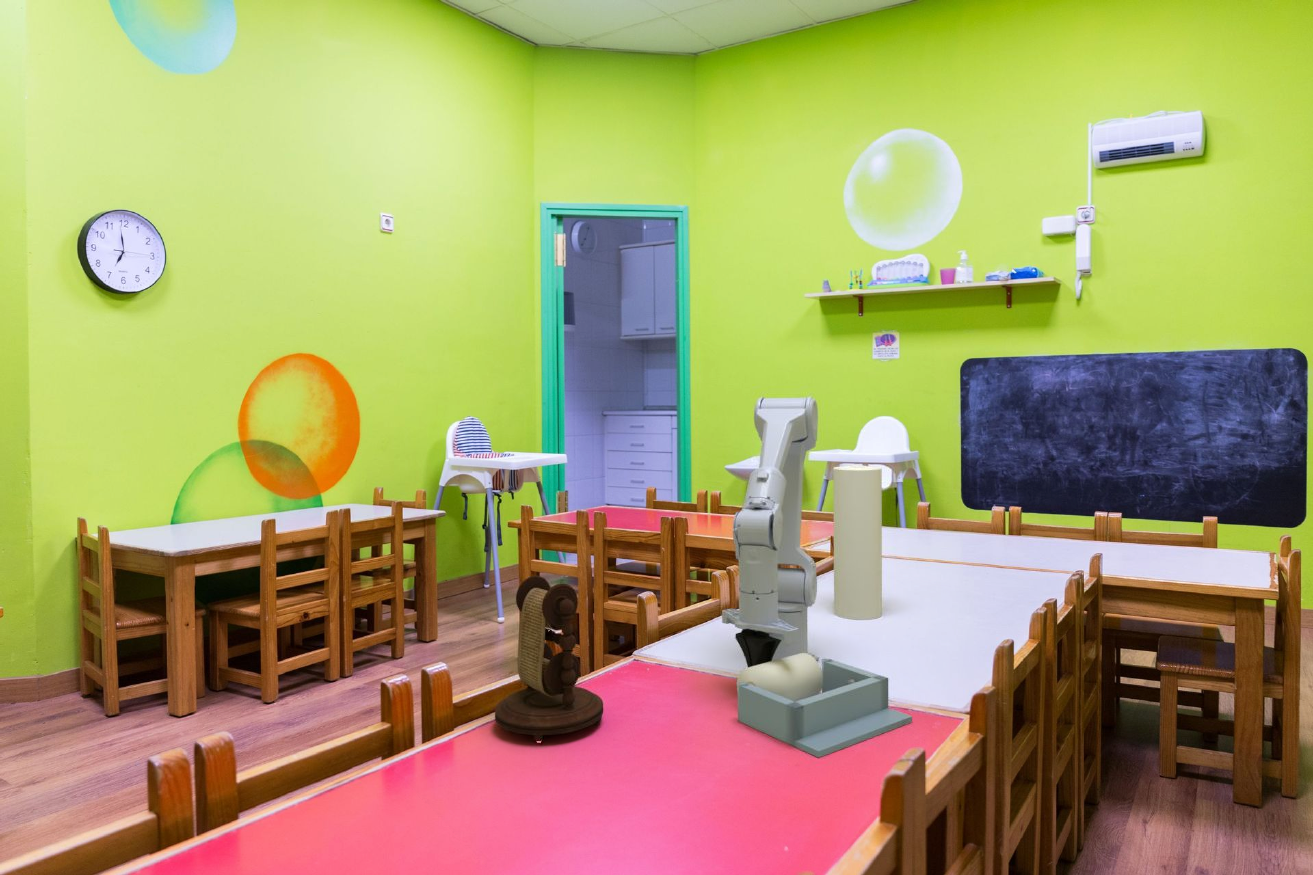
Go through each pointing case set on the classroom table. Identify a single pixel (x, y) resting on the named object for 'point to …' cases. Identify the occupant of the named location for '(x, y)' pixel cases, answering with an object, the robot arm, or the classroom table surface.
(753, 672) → the cylinder
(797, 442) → the robot arm
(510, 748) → the classroom table surface
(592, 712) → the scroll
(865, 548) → the cylinder container
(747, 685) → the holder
